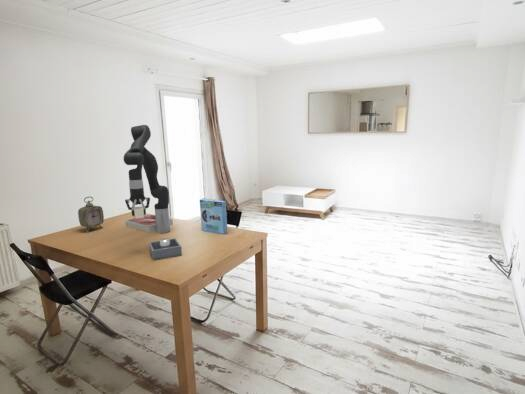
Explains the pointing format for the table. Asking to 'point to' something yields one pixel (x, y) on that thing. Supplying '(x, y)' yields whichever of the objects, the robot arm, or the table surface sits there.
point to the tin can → (164, 243)
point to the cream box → (139, 212)
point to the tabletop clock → (90, 215)
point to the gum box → (213, 215)
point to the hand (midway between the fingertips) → (139, 215)
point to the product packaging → (144, 223)
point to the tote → (165, 250)
